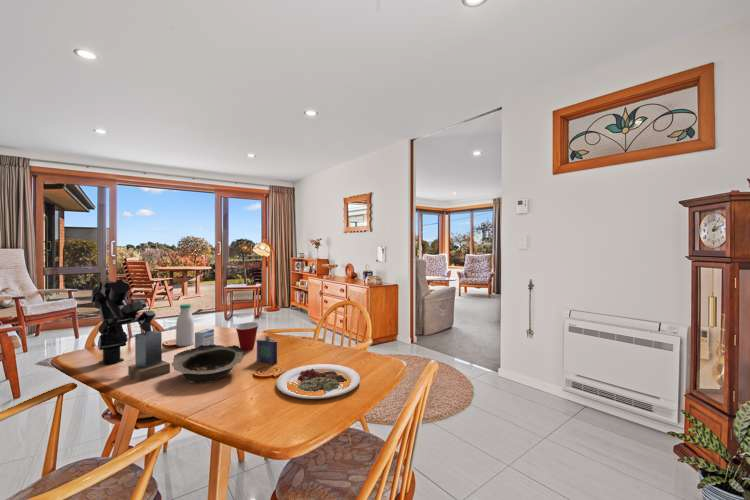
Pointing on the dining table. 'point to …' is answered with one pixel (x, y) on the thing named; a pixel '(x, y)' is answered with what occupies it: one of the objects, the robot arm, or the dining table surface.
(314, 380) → the plated food
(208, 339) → the medicine box
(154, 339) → the slate tin
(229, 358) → the stone bowl
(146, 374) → the walnut block
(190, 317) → the milk bottle
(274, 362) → the flask
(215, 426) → the dining table surface
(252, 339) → the plastic cup
